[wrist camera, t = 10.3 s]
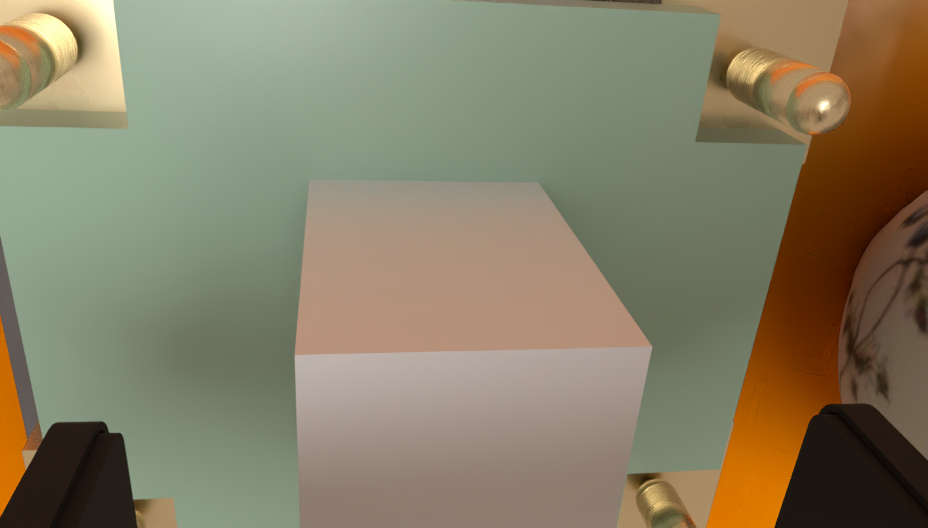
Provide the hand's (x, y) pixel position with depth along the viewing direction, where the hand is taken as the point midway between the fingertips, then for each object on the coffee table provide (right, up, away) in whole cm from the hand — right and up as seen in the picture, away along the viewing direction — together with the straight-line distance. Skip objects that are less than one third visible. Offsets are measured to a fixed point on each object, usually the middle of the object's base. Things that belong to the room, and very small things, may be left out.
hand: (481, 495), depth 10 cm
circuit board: (-1, +2, +5) cm, 6 cm away
